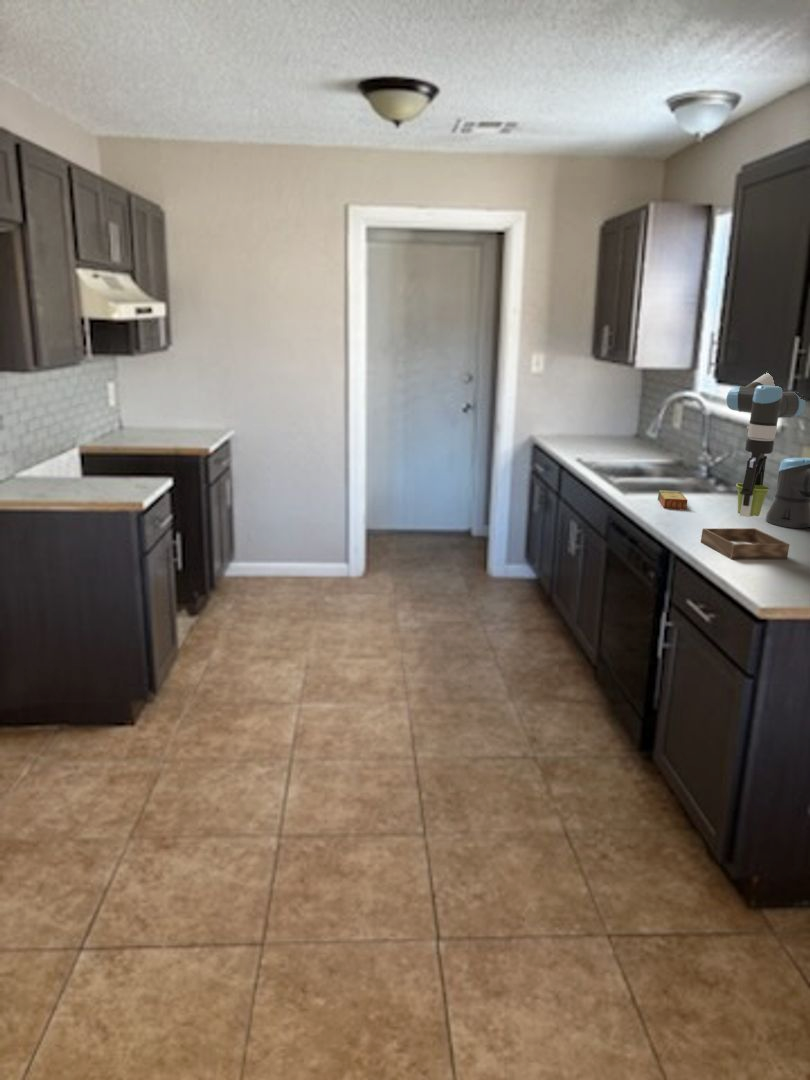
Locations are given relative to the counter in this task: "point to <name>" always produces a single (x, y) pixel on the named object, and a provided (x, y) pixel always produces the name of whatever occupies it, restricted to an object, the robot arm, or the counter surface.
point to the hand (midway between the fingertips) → (748, 513)
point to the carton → (672, 499)
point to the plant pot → (758, 498)
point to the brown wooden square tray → (744, 543)
